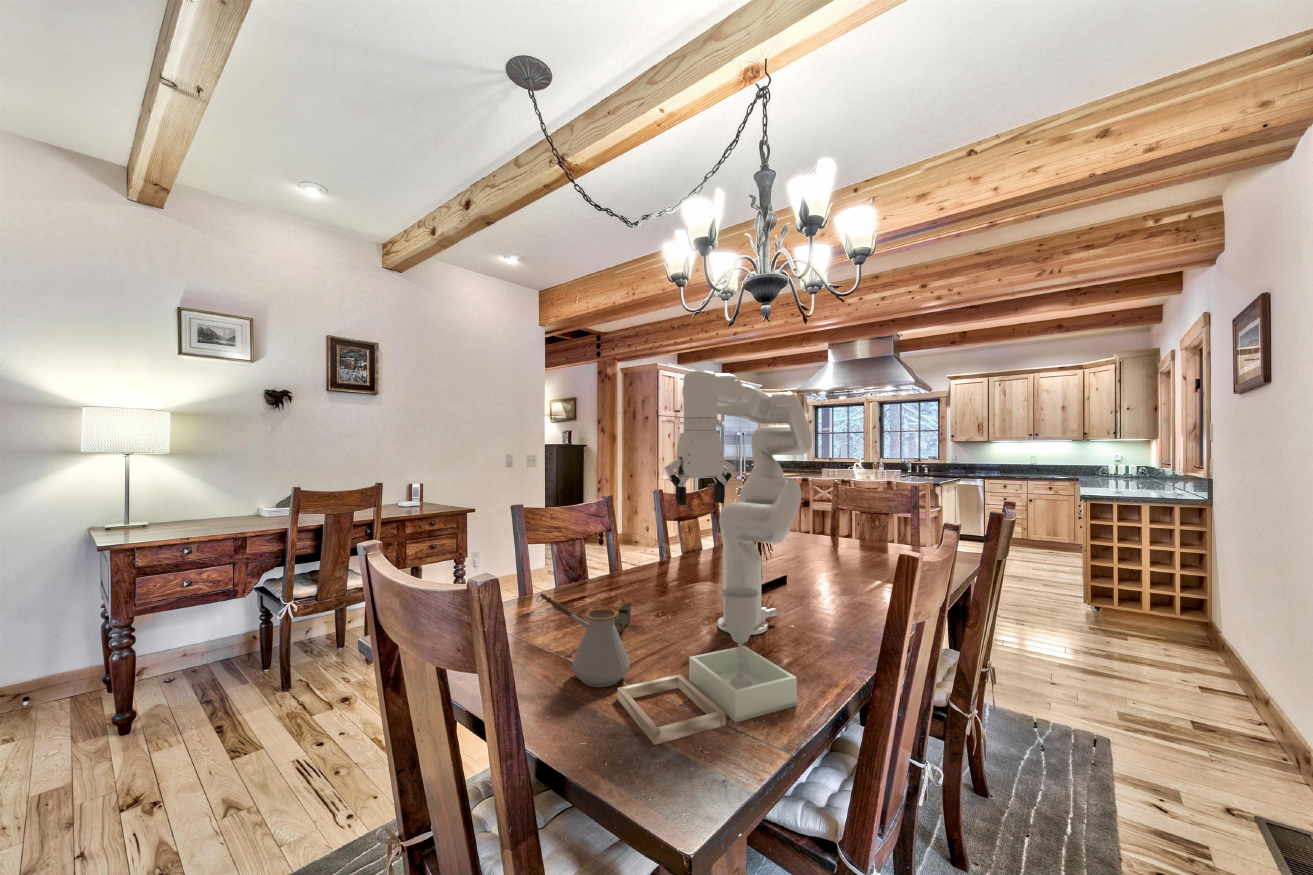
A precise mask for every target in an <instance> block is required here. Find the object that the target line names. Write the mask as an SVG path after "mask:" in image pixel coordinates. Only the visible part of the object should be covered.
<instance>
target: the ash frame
mask: <svg viewBox="0 0 1313 875" xmlns="http://www.w3.org/2000/svg"><path fill="white" fill-rule="evenodd" d="M675 689H679V690H680V691H681V692H682V693H683V694H684V695H685V696H686V697H687V698H688V699H689V700H691V702H693V703H694V704H695V705H696V706H698V708H699V709H701V710H702V712H703V713H705V714H703V715H700V716H696V717H692V718H688V719H685V720H680V721H676V722H672V723H669V724H664V725H661V726H657V725H656V723H654V722H653V720H652V719H651V718H650V717H649V716H648V715H647V713H646V712H645V711H644V710H643V709H642V708H641V706H640V705H639V704H638V703H637V702H636V701H635V700H634V699H636V698H640V697H645V696H648V695H653V694H656V693H657V694H658V693H662V692H666V691H670V690H675ZM616 697H617V698H616V700H618V702H619V703H620V704H621V705H622V706H623V708H624V709H625V710H626V712H627V713H628V714H629V715H630V717H631V718H632V719H633V721H634V722H635V723H636V724H637V726H638V727H639V728H640V729H641V730H642V732H643V733H644V734H645V736H647V738H648V739H649V741H650V742H651V743H652V744H653V746H657V745H660V744H663V743H666V742H671V741H674V740H677V739H681V738H685V737H689V736H692V735H695V734H700V733H703V732H706V731H710V730H714V729H718V728H721V727H722V728H723V727H725V726H726V714H725V712H723V711H722V710H721V709H720V708H719V707H718V706H716V705H715V704H714V703H713V702H712V701H711V700H710V699H708V698H707V697H706V696H705V695H704V694H703V693H701V692H700V691H699V690H698V689H697V688H696V687H694V686H693V685H692V684H691V683H690V682H689V680H688V679H687V678H685V677H684V676H683V675H682V674H680V673H678V674H676V675H671V676H667V677H662V678H656V679H652V680H648V681H643V682H638V683H634V684H627V685H625V686H620V687H617V694H616Z"/></svg>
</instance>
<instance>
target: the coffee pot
mask: <svg viewBox="0 0 1313 875" xmlns="http://www.w3.org/2000/svg"><path fill="white" fill-rule="evenodd" d="M540 598H541V599H540ZM539 599H540V600H539ZM543 600H545V601H546V603H549V604H550V605H551V606H553V608H554V609H556V610H557V611H559V612H561V613H563V614H564V615H565V616H568V617H569V618H572V619H573V620H574V621H576V622H577V623H578V624H580V625H581V626H583V627H584V628H585V629H586V630H585V632H584V635H583V637H582V639H581V642H580V645H579V646H578V649H577V651H576V654H575V656H574V659H573V660H572V661H573V662H572V664H571V666H572V671H573V673H574V674H575V676H576V677H577V679H579V681H580V680H581V682H582V683H583V684H585V685H586V686H589V687H593V688H605V687H611V686H613V685H616V684H617V683H619V682H620V681H621V679H622V678H623V677H625V675H626V674H627V673H628V671H629V669H630V667H631V666H630V665H631V662H630V658H629V656H628V654H627V652H626V651H627V650H626V649H625V647H624V644H623V641H622V639H621V637H620V634H618V632H617V629H616V627H615V625H614V621H615V618H616V617H617V615H618V612H617V611H616V610H614V609H612V608H596V609H592V610H588V611H586V613H585V614H584V617H585V618H586V619H587V621H585V620H583V619H582V618H580V617H578V616H577V615H575V614H574V613H573V612H571V611H570V610H569V609H568V608H566V607H565V606H564V605H562V604H561V603H559V602H558V601H556V600H554V599H552V597H550V596H549V597H548V596H547V595H546V594H544V593H540V595H539V596H538V597H537V598H536V602H537V603H541V602H542V601H543Z"/></svg>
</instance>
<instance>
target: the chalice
mask: <svg viewBox="0 0 1313 875" xmlns="http://www.w3.org/2000/svg"><path fill="white" fill-rule="evenodd" d="M721 593H722V596H723V599H724V598H725V621H726V624H727V628H728V630H729V632H730V633H729V634H730V636H731V638H732V640H733V641H734V642H735V643H737V647H738V650H737V652H736V653H737V655H738V661H737V662H736V664H737V665H738V672H737V673H736V674H734V675H733V676H732V677H731V680H730V682H729V684H730V685H732V686H733V687H734V688H735V689H741V688H745V687H749V686H752V682H751V679H750V678H749V676H748V675H746V674H745V673H744V672H743V666H744V664H745V662H744V660H743V655H744V654H745V652H744V650H743V646H744V643H747V642H748V640H749V638H750V637H751V636H752V635H751V632H752V630H753V628H754V625H755V622H756V598H757V596H758V594H759V592H758V591H757V590H755V589H752V588H747V587H731V588H726V589H724V588H723V590H721Z"/></svg>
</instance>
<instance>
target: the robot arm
mask: <svg viewBox="0 0 1313 875" xmlns="http://www.w3.org/2000/svg"><path fill="white" fill-rule="evenodd" d="M681 390H682V398H683V432H682V433H681V432H680V433H679V436H678V442H677V447H676V448H677V449H676V457H675V458H676V459H675V460H674V461H672V462H671V463H669V464H667V465H666V466H665V467H664V471H665V473H666V475H667V479H668V480H669V481H670V482H671V483H672V484H673V486H674V487H675V501H676V504H677V505H679V506H686V505H687V487H686V486H685V484H686V483H687V482H688V480H689V479H695V478H696V479H697V478H698V479H702V478H704V479H705V478H707V479H708V478H712V479H713V480H714V482H715V483H716V484H714V486H713V500H714V503H719V504H724V503H725V498H726V490H725V489H726V488H725V487H726V486H727V484H728V481H729V480H730V479H731V478H732V475H733V473H734V470H735V465H734V464H733V463H731V462H730V461H727V460H725V459H724V452H723V450H724V449H723V445H722V444H723V443H722V439H721V434H720V432H718V431H719V430H718V429H721V428H722V422H719V419H718V415H722V416H729V417H734V418H740V419H744V420H747V421H749V422H753V423H755V424H760V425H765V426H760V427H758V428H757V429H755V430H754V431H753V432H752V435H751V442H750V444H751V453H752V459H753V468H752V469H751V471H750V473H749V474H748V476H747V478H746V480H745V482H744V484H743V485H742V487H741V489H740V493H739V501H735V502H730V503H727V504H725V505H724V506H723V507H722V509H721V510H720V512H719V518H718V520H719V529H720V533H721V540H722V548H723V550H722V551H723V553H722V554H723V590H724V589H726V588H731V587H747V588H752V589H755V590H757V591H758V592H759V594H758V596H757V598H756V622H755V625H754V628H753V630H752V632H751V635H750V636H754V635H755V636H756V635H761V634H763V633H765V632H766V631H768V629H769V624H768V622H767V621H766V619H768V618H769V617H770V618H771V617H772V618H773V617H777V615H778V611H777V609H776V608H775V607H774V608H772V607H771V608H768V609H767V607H765V606H764V607H762V557H761V554H760V551H759V549H758V547H757V546H756V544H755V543H763V544H772V545H773V544H774V545H775V544H781V543H783V542H784V541H785V540H786V538H787V536H788V534H789V532H790V530H791V527H792V526H793V523H794V521H795V519H796V517H797V514H798V512H799V510H800V506H801V503H802V488H801V487H800V484H799V483H798V481H797V480H795V479H794V478H791V477H786V476H785V477H784V470H783V468H782V467H781V465H780V463H779V462H778V461H777V460H776V459H775V457H774V456H802V455H805V454H807V453H808V452H810V451H811V448H812V444H813V439H812V434H811V433H812V432H811V429H810V426H809V423H808V420H807V417H806V414H805V410H804V408H803V405H802V403H801V401H800V399H799V397H798V396H797V395H796V394H795V393H793V392H792V391H786V392H785V391H783V392H765V391H763V390H760V389H758V388H756V387H754V386H752V385H748V384H742V382H741V379H739V377H737V376H736V375H734V374H731V373H715V372H714V371H711V370H710V371H709V370H695V371H693V370H691V371H689V372H686V373H685V374H684V377H683V386H682V389H681ZM773 424H774V425H773ZM775 424H782V425H775ZM724 468H725V472H724ZM674 470H675V471H674ZM717 627H718V628H719V630H721V631H723V632H725V633H728V634H730V632H729V630H728V628H727V624H726V621H725V598H724V597H723V616H722V617H720V618H718V620H717Z"/></svg>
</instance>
